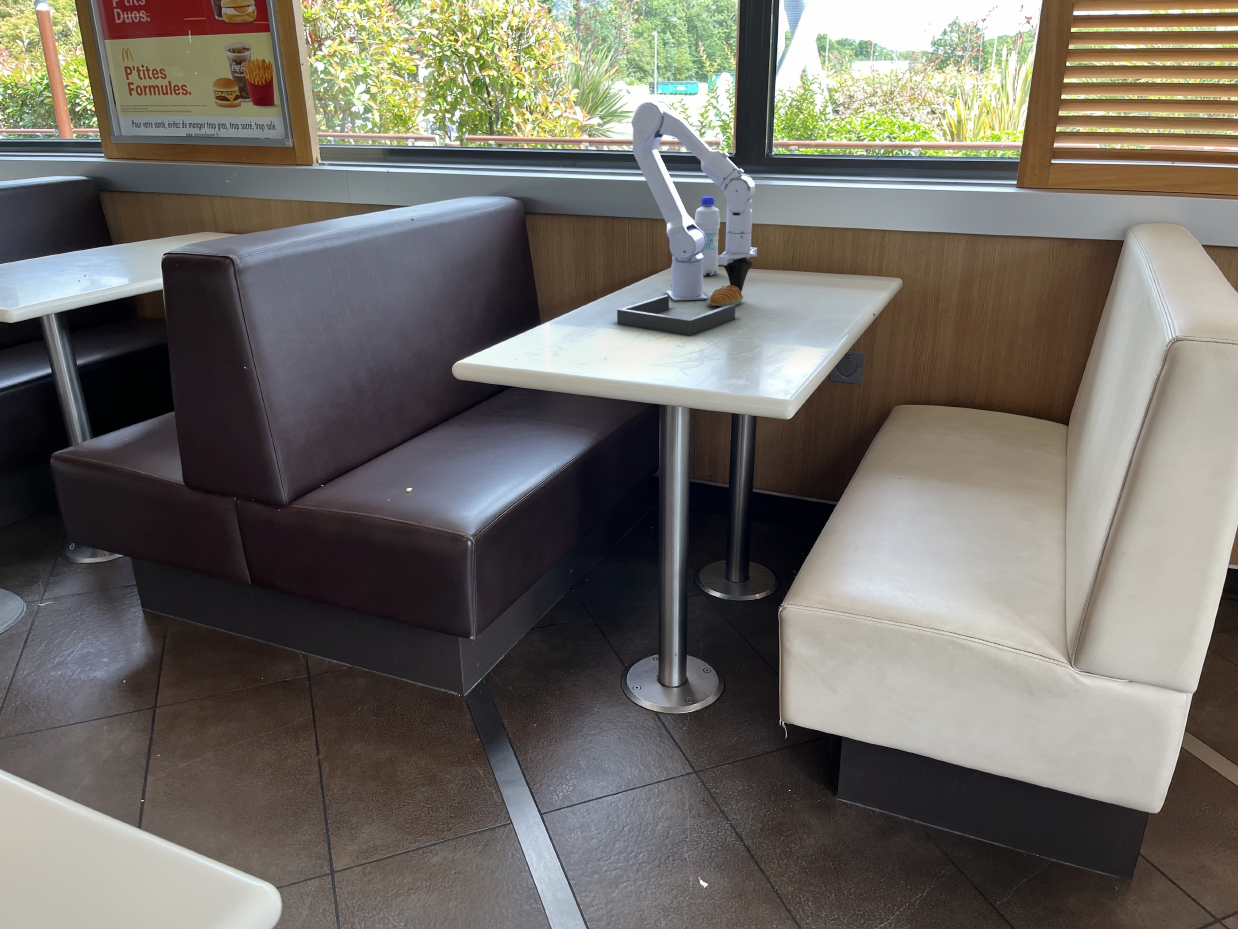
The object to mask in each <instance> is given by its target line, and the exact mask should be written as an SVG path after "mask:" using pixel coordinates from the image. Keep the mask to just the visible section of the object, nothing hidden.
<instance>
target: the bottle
mask: <svg viewBox="0 0 1238 929" xmlns="http://www.w3.org/2000/svg"><path fill="white" fill-rule="evenodd" d="M700 201H701V202H700V205H701V206H700V207H698V208H697V209H696V210H695V215H694V216H695V217H694V222H695V224H696V226H697V227H698V228H699V229H701V230H702V231H703V232H704V234H705V236H706V246H705V248H704V249H703V251H702V252H701V253H702V255H703V277H704V276H707V275H708V273H709V276H713V275H716V274H717V272H718V270H719V265H718V256H719V231H720V230H719V229H720V228H721V216H720V209H719V208H717V207H715V198H714V197H713V196H709V195H708V196H702V197H701V200H700Z"/></svg>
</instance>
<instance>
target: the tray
mask: <svg viewBox="0 0 1238 929" xmlns="http://www.w3.org/2000/svg"><path fill="white" fill-rule="evenodd" d="M669 309H670V296H669V295H668V294H664V295H660V296H657V297H654V298H651V299H647V300H644V301H641V302H638V303H634V304H631V305H629V306H625V307H624V306H623V307H621V308H618V309H616V323H617V324H618V325H624V326H629V327H636V328H642V329H646V330H647V329H648V330H652V331H659V332H666V333H671V334H677V335H685V336H688V337H689V336H690V337H691V336H693V335H696V334H699V333H701V332H703V331H705V330H709V329H711V328H714V327H716V326H720V325H721V324H725V323H727V322H729V321H733V320H735V319H736V305H733V304H730V305H727V306H724V307H723V306H721V307H719V308H716V309H713V310H709V311H707V312H705V313H702V314H699V315H696V316H694V317H690V318H685V317H679V316H678V317H677V316H673V315H672V316H671V315H666V314H659V313H661V312H664V311H667V310H669ZM617 324H616V325H617Z"/></svg>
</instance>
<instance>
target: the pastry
mask: <svg viewBox="0 0 1238 929" xmlns="http://www.w3.org/2000/svg"><path fill="white" fill-rule="evenodd" d="M743 299H744V295H743V294H742V292H740V290H739V288H738V287H736V286H734V285H730V284H727V285H722V286H721V287H720V288H716V289H715V290H714V291H713V292H712V293H711V295H710V298H709V300H710V301H709V304H710V306H711V307H713V306H718V307H724V306H727V305H730V304H733V305H735V306H737V305H739V304H741V303H742V302H743Z"/></svg>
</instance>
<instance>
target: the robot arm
mask: <svg viewBox="0 0 1238 929" xmlns="http://www.w3.org/2000/svg"><path fill="white" fill-rule="evenodd" d="M631 126H632V154H633V156H634V158H635V160H636V162H637V165H638V166H639V169H640V171H641V173H642V174H643V176H644V179H645V181H646V183H647V185H648V187H649V190H650V192H651V195H652V196H653V198H654V200H655V201H656V204H657V206H658V208H659V210H660V213H661V215H662V218H663V219H664V221H665V224H666V235H667V237H668V241H669V251H670V253H671V255H672V257H671V258H672V260H671V267H670V290H666V295H667V296H669V298H671V299H672V300H673V301H675V302H677V301H678V302H679V301H694V300H695V301H698V300H708V296H706V294H704V275H703V255H702V253H701V252H702V251H703V249H704V248H705V246H706V236H705V234H704V232H703V231H702V230H701V229H699V228H698V227H697V226H696V224H695V222H694V221H695V219H693V218H692V217H691V216H690V215H689V214H688V212H687V211H686V208H685V206H684V204H683V202H682V200H681V198H680V195H679V193H678V191H677V189H676V186H675V185H674V182H673V180H672V178H671V176H670V174H669V171H668V170H667V167H666V166H665V163H664V161H663V159H662V157H661V154H660V152H659V147H660V144H661V142H662V139H663V136H670V137H673V138H675V139H677V141H678V142H680V143H681V144H682V145H683V146H684V147H685V148H686V149H687V150H688V151H690V153H692V154H693V155H694V157H695V158H697V159H698V160H699V161H700V169H701V171H702V172H703V173H704V174H705V175H706V176H707V177H708V178H709V179H710V180H711V181H712V182H713V184H715V185H716V186H717V187H718V189H719V190H721V191H723V195H724V198H725V200H726V203H727V204H726V214H725V215H726V216H725V218H726V220H725V248H724V249H725V251H723V252H722V253H721V254H720V255H719V254H718V266H723V268H724V270H725V272H726V275H727V277H728V281H729V285H734V286H736V287H738V288H739V290H740V292H741V293H742V291H743V289H744V284H745V281H746V278H747V275H748V273H749V271H750V268H751V267H752V265H753V260H751V259H748V258H752V257H753V258H755V257H758V247H752V230H753V227H752V226H753V199H752V198H753V197H754V195H755V193H756V189H757V188H756V183H755V181H754V180H753V178H752V176H750V175H748V174H745V171H744V170H743V169H742V168H738V167H737V166H736V165H735V164H734V163H733V162H732V161H731V160H730V159H729V156H730V154H729V153H728V152H727V151H723V152H722V150H720V149H712V148H710V147H709V145H708V144H707V143H706V142H705V141H704V140H703V139H702V138H701V137H700V135H699V134H698V133H697V132H696V131H695V130H694V129H693V128H692V126H691V125H689V123H688V122H687V121H686V120H685V118H684V117H682V116H681V115H680V113H679V112H678V111H676V110H675V109H672V107H671V106H670V105H669V103H667V102H665V101H656V102H651V101H646V102H642V103H641V104H639V105H638V106H637V108H636V109H635V112H634V114H633V117H632V119H631Z"/></svg>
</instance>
